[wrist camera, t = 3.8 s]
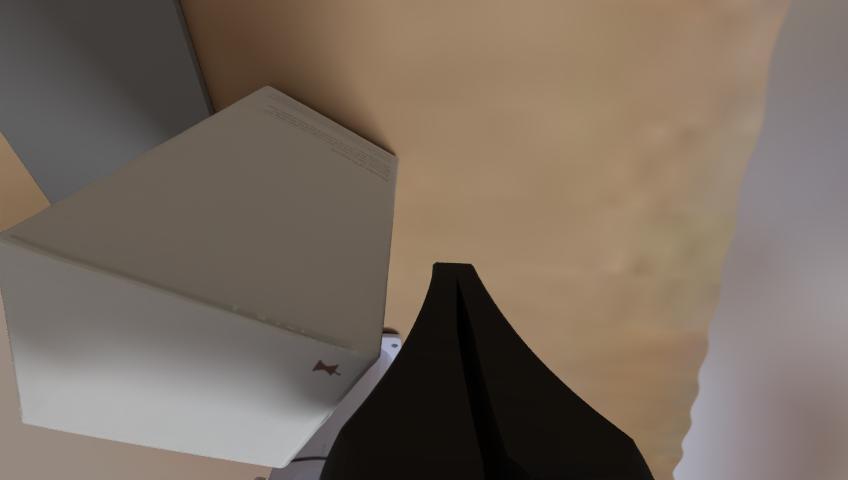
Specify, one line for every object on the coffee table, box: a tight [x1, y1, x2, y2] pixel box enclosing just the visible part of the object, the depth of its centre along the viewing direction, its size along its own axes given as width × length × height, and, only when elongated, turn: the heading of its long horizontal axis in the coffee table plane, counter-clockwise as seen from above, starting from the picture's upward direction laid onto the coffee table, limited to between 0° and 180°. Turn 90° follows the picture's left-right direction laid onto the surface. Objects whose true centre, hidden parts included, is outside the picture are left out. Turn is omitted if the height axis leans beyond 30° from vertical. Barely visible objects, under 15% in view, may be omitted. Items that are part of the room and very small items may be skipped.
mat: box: [0, 0, 214, 205], centre depth 18 cm, size 18×11×1 cm, turn 178°
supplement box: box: [0, 86, 399, 468], centre depth 13 cm, size 7×7×13 cm
